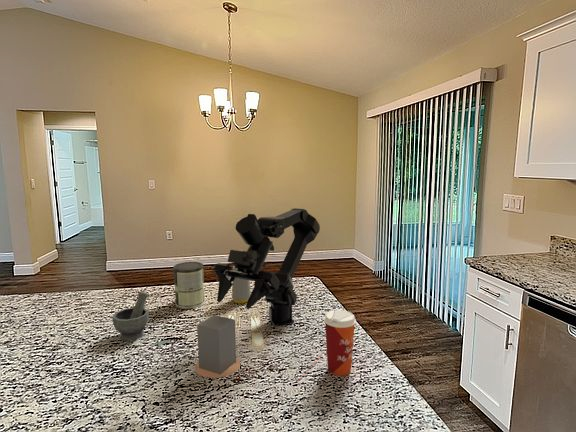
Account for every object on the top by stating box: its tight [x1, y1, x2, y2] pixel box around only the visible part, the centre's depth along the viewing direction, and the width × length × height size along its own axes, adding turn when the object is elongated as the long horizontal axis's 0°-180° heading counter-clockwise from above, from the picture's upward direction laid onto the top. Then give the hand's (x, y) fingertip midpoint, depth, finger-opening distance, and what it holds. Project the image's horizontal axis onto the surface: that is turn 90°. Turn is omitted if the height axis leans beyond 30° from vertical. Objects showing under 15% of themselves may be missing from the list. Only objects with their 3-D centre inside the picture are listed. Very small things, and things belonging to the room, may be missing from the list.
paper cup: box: [323, 309, 357, 377], centre depth 92 cm, size 8×8×14 cm
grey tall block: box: [196, 314, 237, 375], centre depth 92 cm, size 6×6×11 cm
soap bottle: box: [231, 265, 252, 304], centre depth 138 cm, size 7×7×18 cm
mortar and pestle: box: [111, 291, 150, 342], centre depth 111 cm, size 11×9×12 cm
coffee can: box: [172, 261, 205, 309], centre depth 136 cm, size 10×10×14 cm
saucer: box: [194, 356, 241, 379], centre depth 92 cm, size 11×11×5 cm
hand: (232, 304), depth 97 cm, fingers open, 9 cm apart
